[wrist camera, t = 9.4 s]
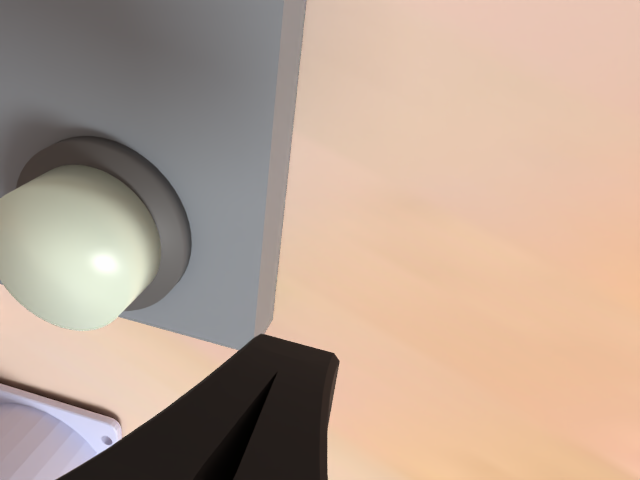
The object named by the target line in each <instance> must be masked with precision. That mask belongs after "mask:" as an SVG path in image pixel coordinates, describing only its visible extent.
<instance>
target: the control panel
mask: <svg viewBox="0 0 640 480" xmlns="http://www.w3.org/2000/svg"><path fill="white" fill-rule="evenodd" d="M305 9H306V0H0V198H2V197H3V196H4V195H6V194H8V193H9V192H11V191H13V190H15V189H17V188H19V187H20V186H22V185H24V184H26V183H28V182H30V181H31V180H33V179H35V178H37V177H39V176H41V175H42V174H44V173H46V172H48V171H50V170H52V169H54V168H57V167H60V166H64V165H84V166H90V167H93V168H96V169H99V170H102V171H104V172H106V173H108V174H110V175H112V176H114V177H115V178H117V179H118V180H120V181H121V182H123V183H124V184H125V185H126V186H127V187H129V188H130V189H131V190H132V191H133V192H134V193H135V194H136V195H137V196H138V197H139V198H140V200H141V201H142V202H143V204H144V205H145V206H146V208H147V209H148V211H149V213H150V214H151V216H152V218H153V220H154V222H155V225H156V227H157V230H158V233H159V238H160V243H161V261H160V266H159V269H158V272H157V274H156V276H155V277H154V279H153V281H152V282H151V283H150V284H149V285H148V286H147V287H146V288H145V289H144V290H143V291H142V292H141V294H140V295H139V296H138V297H137V298H136V299H135V300H134V301H133V302H132V303H131V304H130V305H129V306H128V307H127V308H126V309H125V310H124V311H123V312H122V313H121V314H120V315H119V316H118V317H121V318H125V319H128V320H132V321H136V322H139V323H143V324H146V325H150V326H154V327H157V328H161V329H164V330H168V331H172V332H175V333H179V334H182V335H186V336H190V337H193V338H197V339H200V340H204V341H208V342H211V343H215V344H218V345H222V346H226V347H229V348H233V349H236V350H240V349H241V348H242V347H244V346H245V345H246V344H247V343H248V342H249V341H250V340H252V339H253V338H254V337H256V336H258V335H259V334H264V333H265V332H266V330H267V328H268V327H269V325H270V323H271V321H272V320H273V311H274V301H275V292H276V282H277V273H278V263H279V254H280V245H281V235H282V226H283V216H284V207H285V197H286V188H287V179H288V169H289V160H290V150H291V141H292V131H293V122H294V112H295V103H296V94H297V84H298V75H299V65H300V56H301V46H302V37H303V27H304V18H305ZM0 284H2V282H1V281H0Z"/></svg>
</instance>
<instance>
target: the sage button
mask: <svg viewBox="0 0 640 480" xmlns="http://www.w3.org/2000/svg"><path fill="white" fill-rule="evenodd" d="M160 261H161V243H160V238H159V233H158V230H157V227H156V225H155V222H154V220H153V218H152V216H151V214H150V213H149V211H148V209H147V208H146V206H145V205H144V204H143V202H142V201H141V200H140V198H139V197H138V196H137V195H136V194H135V193H134V192H133V191H132V190H131V189H130V188H129V187H127V186H126V185H125V184H124V183H123V182H121V181H120V180H118V179H117V178H115V177H114V176H112V175H110V174H108V173H106V172H104V171H102V170H99V169H96V168H93V167H90V166H84V165H64V166H60V167H57V168H54V169H52V170H50V171H48V172H46V173H44V174H42V175H41V176H39V177H37V178H35V179H33V180H31V181H30V182H28V183H26V184H24V185H22V186H20V187H19V188H17V189H15V190H13V191H11V192H9V193H8V194H6V195H4V196H3V197H2V198H0V281H1V282H2V284H3V285H4V286H5V288H6V289H7V290H8V291H9V293H10V294H11V295H12V296H13V297H14V298H15V299H16V300H17V301H18V302H19V303H20V304H21V305H22V306H24V307H25V308H26V309H27V310H29V311H30V312H31V313H33V314H34V315H36V316H37V317H39V318H41V319H43V320H44V321H46V322H49V323H51V324H53V325H56V326H59V327H62V328H66V329H70V330H78V331H88V330H95V329H98V328H101V327H104V326H106V325H108V324H110V323H111V322H112V321H114V320H115V319H116V318H117V317H118V316H119V315H120V314H121V313H122V312H123V311H124V310H125V309H126V308H127V307H128V306H129V305H130V304H131V303H132V302H133V301H134V300H135V299H136V298H137V297H138V296H139V295H140V294H141V292H142V291H143V290H144V289H145V288H146V287H147V286H148V285H149V284H150V283H151V282H152V281H153V279H154V277H155V276H156V274H157V272H158V269H159V266H160Z"/></svg>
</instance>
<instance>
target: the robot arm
mask: <svg viewBox="0 0 640 480" xmlns="http://www.w3.org/2000/svg"><path fill="white" fill-rule="evenodd" d="M338 367H339V360H338V358H337V357H336V355H335V354H334V353H331V352H327V351H324V350H320V349H316V348H313V347H309V346H305V345H302V344H298V343H294V342H291V341H287V340H283V339H280V338H276V337H272V336H268V335H265V334H259V335H258V336H256V337H254V338H253V339H252V340H250V341H249V342H248V343H247V344H246V345H245V346H244V347H242V348H241V349H240V350H239V351H238V352H237V353H235V354H234V355H233V356H232V357H231V358H229V359H228V360H227V361H226V362H225V363H223V364H222V365H221V366H220V367H219V368H217V369H216V370H215V371H214V372H212V373H211V374H210V375H209V376H207V377H206V378H205V379H204V380H202V381H201V382H200V383H199V384H197V385H196V386H195V387H193V388H192V389H191V390H189V391H188V392H187V393H185V394H184V395H183V396H181V397H180V398H179V399H178V400H176V401H175V402H174V403H172V404H171V405H170V406H168V407H167V408H166V409H164V410H163V411H161V412H160V413H159V414H157V415H156V416H155V417H153V418H152V419H150V420H149V421H147V422H146V423H144V424H143V425H141V426H140V427H138V428H137V429H135V430H134V431H132V432H131V433H129V434H128V435H127V436H125V437H124V438H122V430H121V426H120V424H119V423H118V422H117V421H116V420H115V419H113V418H111V417H107V416H104V415H101V414H98V413H94V412H91V411H88V410H85V409H82V408H78V407H75V406H72V405H69V404H65V403H62V402H59V401H56V400H52V399H49V398H46V397H43V396H39V395H36V394H33V393H30V392H27V391H23V390H20V389H17V388H14V387H10V386H7V385H4V384H1V383H0V480H328V476H327V428H328V423H329V417H330V411H331V406H332V400H333V395H334V389H335V384H336V378H337V372H338Z"/></svg>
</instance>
